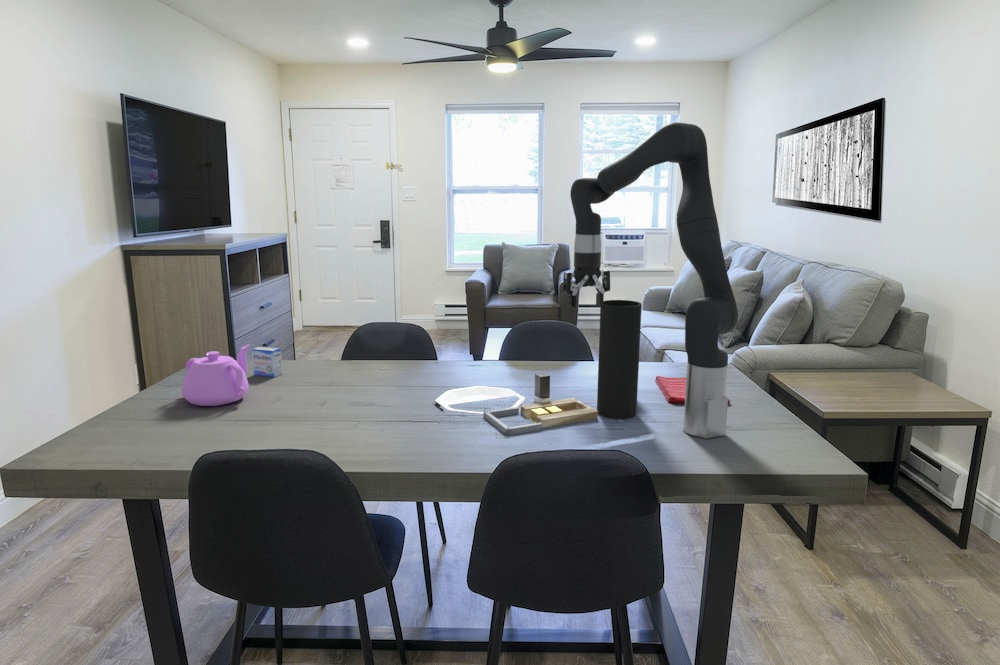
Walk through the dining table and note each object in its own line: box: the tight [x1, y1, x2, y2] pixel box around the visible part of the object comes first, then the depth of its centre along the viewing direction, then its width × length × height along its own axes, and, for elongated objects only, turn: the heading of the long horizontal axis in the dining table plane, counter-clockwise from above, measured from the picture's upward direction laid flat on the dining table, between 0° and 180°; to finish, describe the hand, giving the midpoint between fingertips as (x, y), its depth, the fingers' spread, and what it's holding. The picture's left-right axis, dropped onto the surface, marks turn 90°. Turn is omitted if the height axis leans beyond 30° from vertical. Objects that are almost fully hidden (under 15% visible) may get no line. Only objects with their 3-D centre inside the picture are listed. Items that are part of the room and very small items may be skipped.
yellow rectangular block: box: [531, 408, 549, 421], centre depth 167 cm, size 4×3×2 cm
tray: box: [483, 407, 543, 436], centre depth 164 cm, size 14×10×2 cm
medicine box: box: [251, 346, 283, 378], centre depth 210 cm, size 8×4×9 cm, turn 73°
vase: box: [596, 299, 643, 420], centre depth 169 cm, size 10×10×30 cm
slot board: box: [520, 397, 599, 429], centre depth 169 cm, size 12×16×3 cm
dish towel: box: [654, 375, 731, 405], centre depth 193 cm, size 17×24×3 cm
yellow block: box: [545, 406, 563, 414], centre depth 169 cm, size 4×3×2 cm
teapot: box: [181, 343, 251, 407], centre depth 186 cm, size 22×22×14 cm
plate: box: [434, 385, 526, 415], centre depth 183 cm, size 24×24×2 cm
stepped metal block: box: [533, 372, 551, 403], centre depth 179 cm, size 4×3×9 cm, turn 24°
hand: (586, 307), depth 189 cm, fingers open, 8 cm apart
